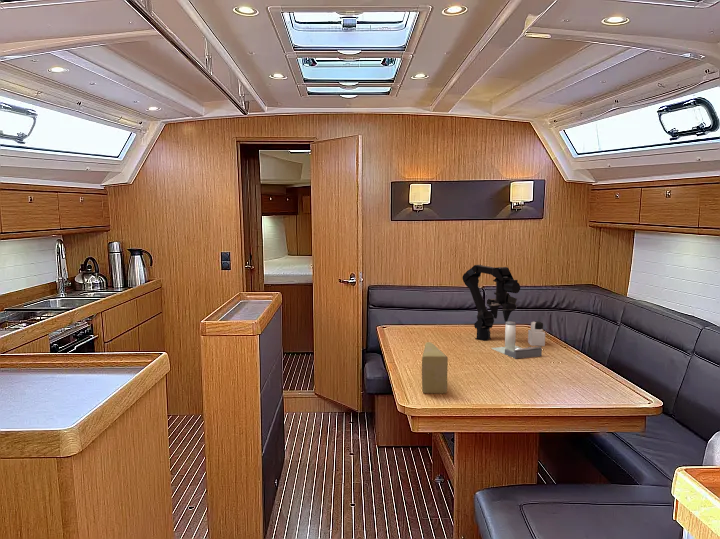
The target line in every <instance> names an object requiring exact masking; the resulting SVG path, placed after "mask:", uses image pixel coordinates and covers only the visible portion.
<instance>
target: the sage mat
mask: <svg viewBox="0 0 720 539" xmlns="http://www.w3.org/2000/svg"><path fill="white" fill-rule="evenodd" d="M519 348H522V347H520V346H518V345H515V349H519ZM490 349H491V350H494V351H496V352H498V353H501V354H503V355H505V346H499V347H491V348H490ZM513 352H514V351H513Z"/></svg>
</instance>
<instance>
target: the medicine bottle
mask: <svg viewBox="0 0 720 539" xmlns="http://www.w3.org/2000/svg"><path fill="white" fill-rule="evenodd" d="M543 330H544V323H543V322H541V321H531V322H530V329H528V332H527V343H528V344H529V345H530V347H539V346H541V347H545V346H546V332H545V331H543Z"/></svg>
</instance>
